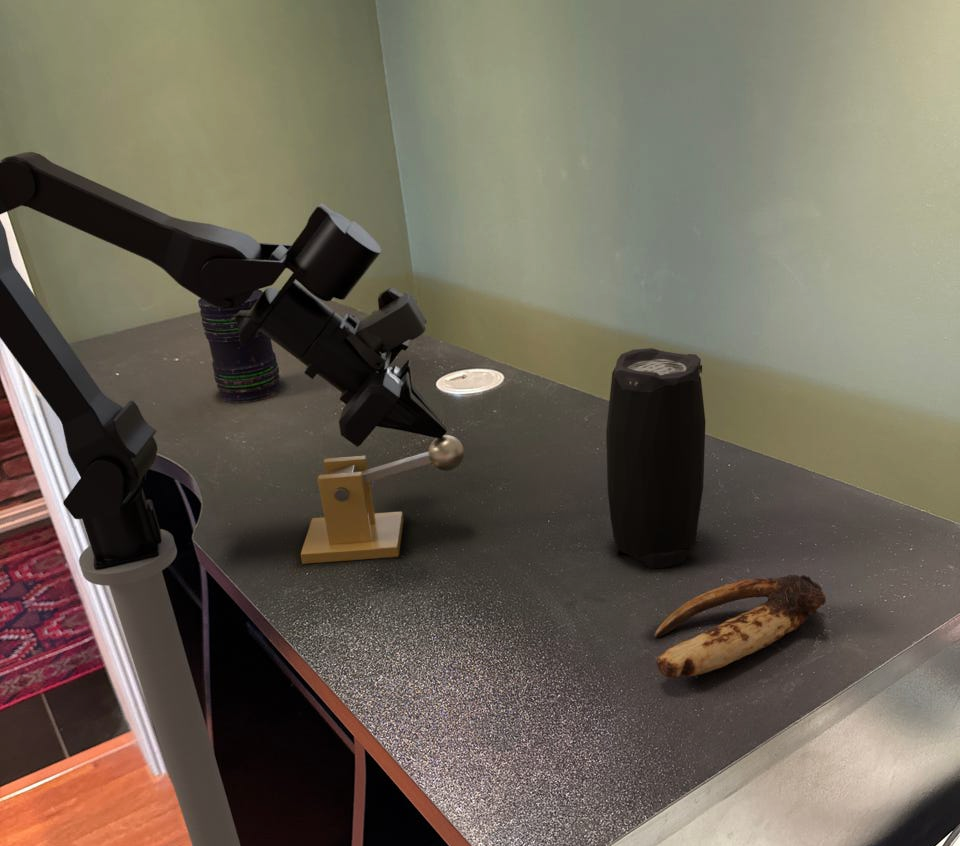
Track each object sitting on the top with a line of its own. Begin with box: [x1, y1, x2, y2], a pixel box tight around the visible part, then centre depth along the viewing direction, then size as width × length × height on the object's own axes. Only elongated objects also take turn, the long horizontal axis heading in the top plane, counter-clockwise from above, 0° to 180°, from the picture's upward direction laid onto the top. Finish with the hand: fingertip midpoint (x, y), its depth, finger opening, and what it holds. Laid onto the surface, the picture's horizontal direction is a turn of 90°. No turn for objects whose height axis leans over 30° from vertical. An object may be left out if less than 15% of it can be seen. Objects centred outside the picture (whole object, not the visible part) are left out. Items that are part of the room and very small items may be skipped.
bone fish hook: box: [654, 574, 827, 679], centre depth 76 cm, size 9×5×18 cm
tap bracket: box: [300, 455, 405, 565], centre depth 95 cm, size 10×8×9 cm
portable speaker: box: [605, 347, 706, 570], centre depth 86 cm, size 9×9×20 cm
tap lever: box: [329, 434, 465, 483], centre depth 93 cm, size 14×4×4 cm, turn 90°
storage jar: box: [197, 289, 283, 404], centre depth 139 cm, size 10×10×18 cm
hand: (444, 434), depth 92 cm, fingers closed, pressing on tap lever
